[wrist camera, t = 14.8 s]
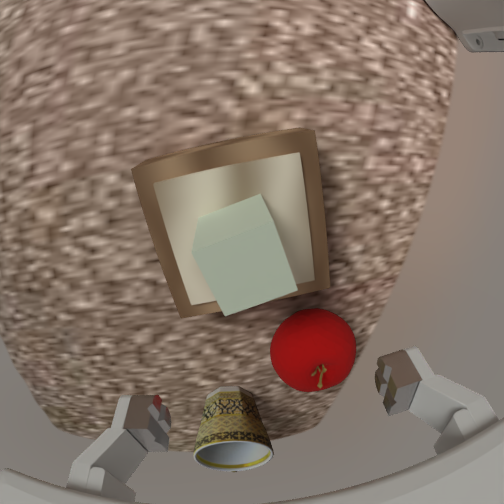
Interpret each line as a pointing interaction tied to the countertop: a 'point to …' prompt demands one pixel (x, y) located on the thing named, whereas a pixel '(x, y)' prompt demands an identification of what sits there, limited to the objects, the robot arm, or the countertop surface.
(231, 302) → the block
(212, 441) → the ceramic cup
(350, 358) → the fruit
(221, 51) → the countertop surface
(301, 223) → the base
